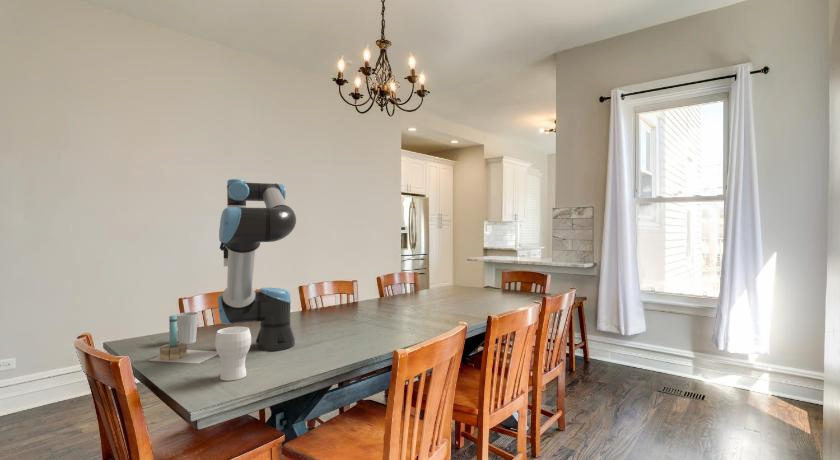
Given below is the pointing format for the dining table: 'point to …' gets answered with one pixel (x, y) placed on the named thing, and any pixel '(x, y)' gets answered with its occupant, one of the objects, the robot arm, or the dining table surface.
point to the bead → (173, 352)
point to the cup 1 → (187, 327)
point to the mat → (192, 357)
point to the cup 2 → (233, 351)
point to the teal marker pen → (173, 331)
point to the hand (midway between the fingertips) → (236, 264)
